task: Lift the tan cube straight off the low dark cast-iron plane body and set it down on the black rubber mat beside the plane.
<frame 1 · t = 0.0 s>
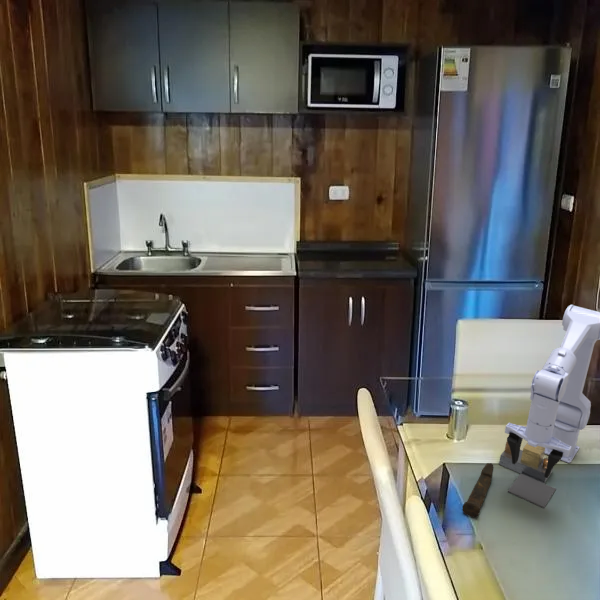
hand: (530, 468, 143), 10 cm above the table, fingers open, 7 cm apart
tan cube: (531, 460, 157), point 3 cm above the table, touching plane body
plane body: (525, 468, 159), on the table
hand tool: (477, 494, 149), on the table
mat: (531, 490, 151), on the table
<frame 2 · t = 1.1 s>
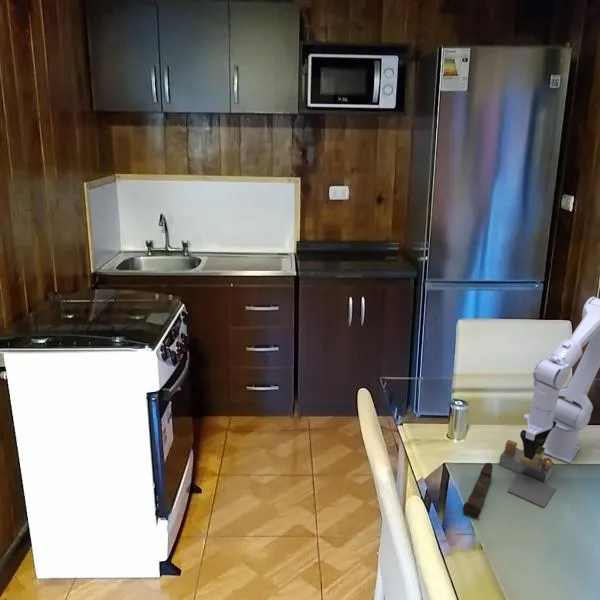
hand: (533, 451, 156), 6 cm above the table, fingers open, 7 cm apart
nothing on the table moved.
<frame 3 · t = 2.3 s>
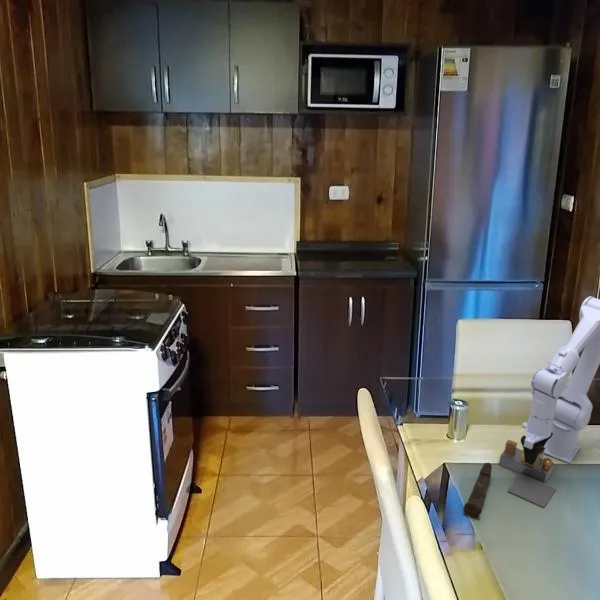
hand: (532, 458, 157), 4 cm above the table, fingers closed on tan cube, 4 cm apart
tan cube: (531, 460, 157), point 3 cm above the table, touching gripper, plane body
everything else where it was.
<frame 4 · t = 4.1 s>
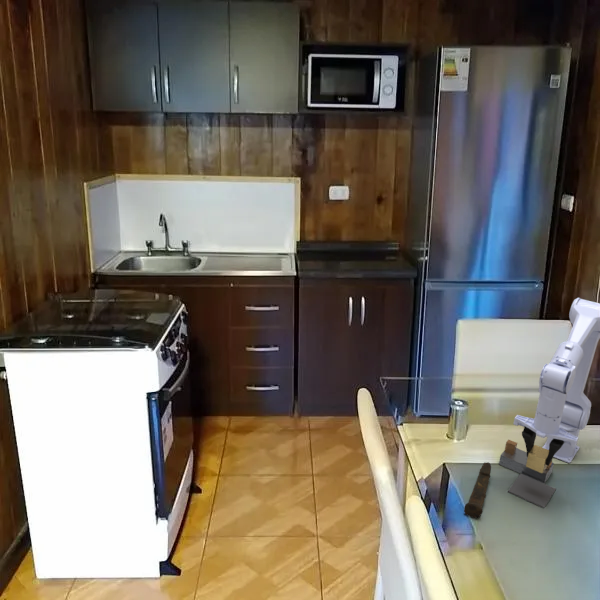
hand: (538, 459, 147), 9 cm above the table, fingers closed on tan cube, 4 cm apart
tan cube: (537, 465, 148), point 8 cm above the table, touching gripper
everything else where it was.
when the fingers open (3 cm above the table, at t = 6.1 s): tan cube stays where it is, resting on mat.
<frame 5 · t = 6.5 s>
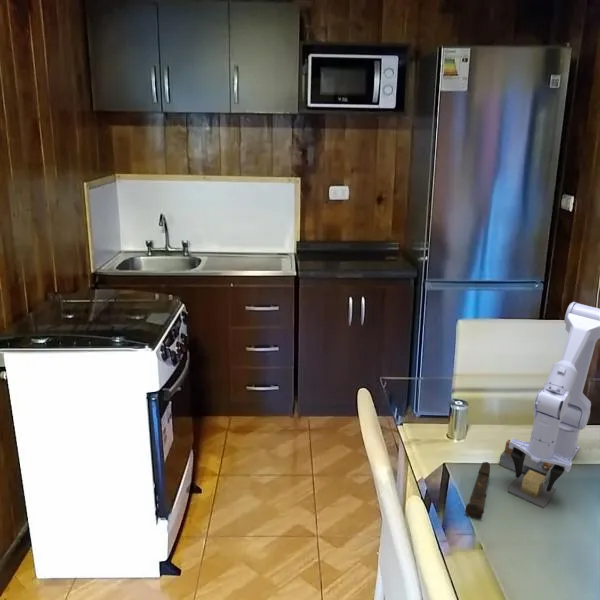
hand: (533, 482, 150), 3 cm above the table, fingers open, 7 cm apart
tan cube: (531, 490, 150), resting on mat
everything else where it was.
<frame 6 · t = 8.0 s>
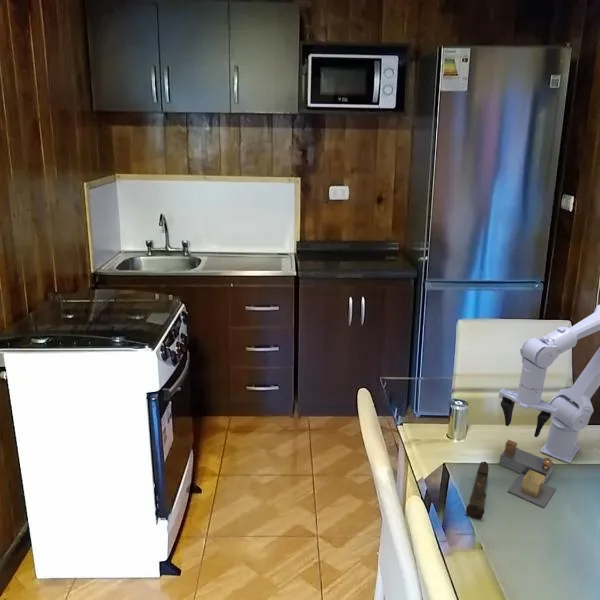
hand: (522, 429, 159), 10 cm above the table, fingers open, 7 cm apart
nothing on the table moved.
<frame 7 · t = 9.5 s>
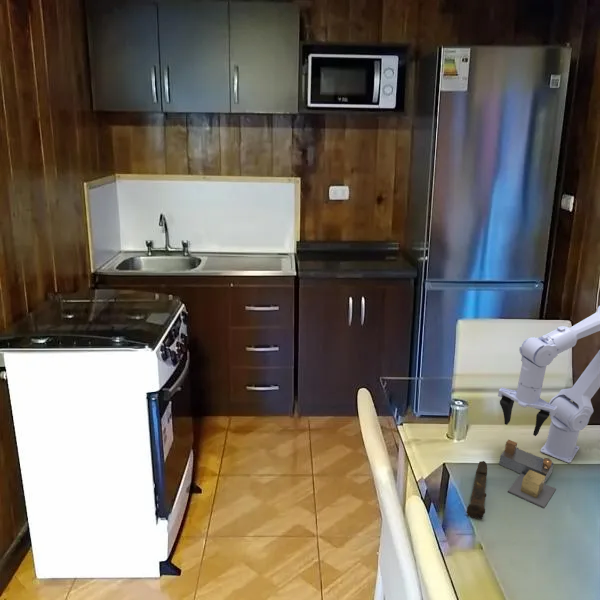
hand: (521, 428, 159), 10 cm above the table, fingers open, 7 cm apart
nothing on the table moved.
at the end: tan cube inside the target area on the mat (0.3 cm from its centre), point 0.4 cm above the mat's base; tan cube touching mat; the gripper is holding nothing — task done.
